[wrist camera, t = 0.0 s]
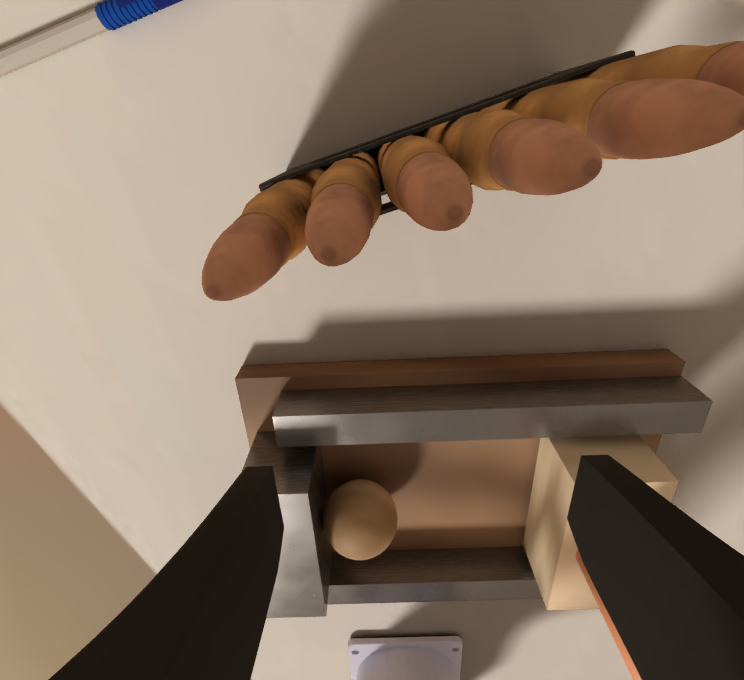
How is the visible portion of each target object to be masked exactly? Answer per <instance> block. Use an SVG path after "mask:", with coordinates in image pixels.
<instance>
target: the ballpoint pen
mask: <svg viewBox="0 0 744 680" xmlns="http://www.w3.org/2000/svg"><path fill="white" fill-rule="evenodd" d="M180 1H182V0H105V1H103V2H102V3H98V4H97V6H96V7H95V8H93V9H90V10H88V11H86V12H83V13H81V14H79V15H77V16H74V17H72V18H70V19H68V20H65V21H63V22H61V23H59V24H56V25H54V26H52V27H50V28H47V29H45V30H43V31H41V32H38V33H36V34H34V35H31V36H29V37H27V38H25V39H22V40H20V41H18V42H16V43H13V44H11V45H9V46H7V47H4V48H2V49H0V77H1V76H4V75H6V74H8V73H11V72H13V71H15V70H18V69H20V68H22V67H25V66H27V65H29V64H31V63H34V62H36V61H38V60H41V59H43V58H45V57H48V56H50V55H52V54H55V53H57V52H59V51H62V50H64V49H66V48H69V47H71V46H73V45H75V44H78V43H80V42H82V41H85V40H87V39H89V38H92V37H94V36H96V35H99V34H101V33H103V32H106V31H108V30H116V27H117V28H120V27H122V26H125V25H127V24H126V23H128V24H130V23H132V21H137V19H141V18H142V16H143V17H146V16H147V14H149V15H150V14H152V12H157V11H158V9H159V10H161V9H164V8H166V7H168V6H171V5H173V4H175V3H177V2H180ZM121 25H122V26H121Z"/></svg>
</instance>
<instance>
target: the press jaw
mask: <svg viewBox="0 0 744 680" xmlns="http://www.w3.org/2000/svg"><path fill="white" fill-rule="evenodd" d="M581 455H609V456H611V457H612V458H613V459H615V460H616V461H617V462H619V463H620V464H621V465H623V466H624V467H625V468H627V469H628V470H629V471H631V472H632V473H633V474H634V475H636V476H637V477H638V478H640V479H641V480H642V481H644V482H645V483H646V484H647V485H649V486H650V487H651V488H653V489H654V490H655V491H656V492H658V493H659V494H660V495H662V496H663V497H664V498H666V499H667V500H668V501H669V502H672V500H673V497H674V494H675V492H676V489H677V486H678V483H679V481H678V480H677V478H676V477H675V476H674V475H673V474H672V473H671V472H670V470H669V469H668V468H667V467H666V466H665V465H664V464H663V462H662V461H661V460H660V459H659V458H658V457H657V456H656V454H655V453H654V452H653V451H652V450H651V449H650V448H649V446H648V445H647V444H646V443H645V442H644V441H643V440H642V438H641V437H640V436H639V435H614V436H585V437H556V438H540V444H539V450H538V456H537V462H536V468H535V474H534V480H533V486H532V492H531V498H530V504H529V510H528V516H527V522H526V528H525V534H524V540H523V546H524V549H525V551H526V554H527V557H528V560H529V562H530V565H531V568H532V571H533V573H534V576H535V579H536V582H537V584H538V587H539V590H540V593H541V595H542V598H543V601H544V603H545V606H546V609H547V610H578V609H600V611H601V613H602V615H603V617H604V620H605V622H606V624H607V626H608V628H609V630H610V632H611V634H612V636H613V638H614V641H615V643H616V645H617V647H618V649H619V651H620V653H621V655H622V657H623V659H624V662H625V664H626V666H627V668H628V670H629V672H630V674H631V676H632V678H633V680H642V679H641V677H640V675H639V673H638V671H637V669H636V667H635V665H634V663H633V661H632V659H631V657H630V655H629V653H628V651H627V649H626V647H625V645H624V643H623V641H622V639H621V637H620V635H619V633H618V631H617V629H616V628H615V626H614V624H613V622H612V620H611V618H610V616H609V614H608V612H607V610H606V608H605V606H604V604H603V602H602V600H601V598H600V596H599V594H598V592H597V590H596V588H595V586H594V584H593V582H592V580H591V578H590V576H589V574H588V572H587V570H586V568H585V566H584V564H583V561H582V558H581V556H580V553H579V551H578V548H577V545H576V543H575V540H574V537H573V534H572V531H571V529H570V526H569V523H568V520H567V516H568V511H569V507H570V502H571V498H572V494H573V489H574V485H575V480H576V476H577V472H578V467H579V463H580V458H581Z"/></svg>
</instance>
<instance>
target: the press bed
mask: <svg viewBox="0 0 744 680" xmlns="http://www.w3.org/2000/svg"><path fill="white" fill-rule="evenodd" d="M684 364H685V361H683V360H682V359H680V358H679V357H678V356H676V355H675V354H674V353H672V352H671V351H670V350H668V349H663V350H637V351H610V352H584V353H558V354H532V355H506V356H480V357H454V358H428V359H402V360H376V361H350V362H324V363H297V364H271V365H245V366H242V367H241V369H240V371H239V373H238V374H237V376H236V378H235V381H236V386H237V390H238V395H239V399H240V404H241V408H242V413H243V418H244V422H245V427H246V431H247V436H248V440H249V445H250V451H249V454H248V457H247V459H246V462H245V465H244V467H243V470H244V469H245V468H246V467H253V466H273V472H274V477H275V482H276V487H277V492H278V497H279V503H280V508H281V513H282V518H283V523H284V532H283V540H282V547H281V554H280V561H279V567H278V573H277V577H276V581H275V585H274V589H273V593H272V597H271V601H270V605H269V609H268V613H267V616H266V618H283V617H320V616H326V614H327V604H359V603H396V602H432V601H468V600H504V599H541V598H542V595H541V593H540V590H539V587H538V584H537V582H536V579H535V576H534V573H533V571H532V568H531V565H530V562H529V560H528V557H527V554H526V551H525V549H524V546H523V540H524V534H525V528H526V522H527V516H528V510H529V504H530V498H531V492H532V486H533V480H534V474H535V468H536V462H537V456H538V450H539V444H540V438H556V437H585V436H614V435H639V436H640V437H641V438H642V440H643V441H644V442H645V443H646V444H647V445H648V446H649V448H650V449H651V450H652V451H653V452H654V453H656V450H657V447H658V444H659V440H660V437H661V434H671V433H700V432H701V431H702V428H703V426H704V423H705V420H706V418H707V415H708V412H709V410H710V407H711V404H712V402H713V401H712V400H711V399H710V398H708V397H707V396H706V395H705V394H703V393H702V392H701V391H700V390H698V389H697V388H696V387H694V386H693V385H692V384H691V383H689V382H688V381H687V380H686V379H684V378H683V377H682V376H681V373H682V370H683V367H684ZM243 470H242V471H243Z"/></svg>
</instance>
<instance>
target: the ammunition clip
mask: <svg viewBox="0 0 744 680" xmlns="http://www.w3.org/2000/svg"><path fill="white" fill-rule="evenodd" d="M742 130H744V42H742V41H735V42H729V43H723V44H718V45H712V46H694V45H677V46H672V47H668V48H664V49H661V50H657V51H653V52H650V53H646V54H642V55H638V56H635V51H628V52H624V53H621V54H618V55H615V56H611V57H608V58H605V59H601V60H598V61H595V62H591V63H588V64H585V65H582V66H578V67H575V68H572V69H568V70H565V71H562V72H559V73H556V74H553V75H550V76H548V77H545V78H542V79H539V80H537V81H534V82H531V83H528V84H526V85H523V86H520V87H517V88H514V89H512V90H509V91H506V92H503V93H501V94H498V95H495V96H492V97H490V98H487V99H484V100H481V101H478V102H476V103H473V104H470V105H467V106H465V107H462V108H459V109H456V110H454V111H451V112H448V113H445V114H442V115H440V116H437V117H434V118H431V119H429V120H426V121H423V122H420V123H418V124H415V125H412V126H409V127H407V128H404V129H401V130H398V131H395V132H393V133H390V134H387V135H384V136H382V137H379V138H376V139H373V140H371V141H368V142H365V143H362V144H359V145H357V146H354V147H351V148H348V149H346V150H343V151H340V152H337V153H335V154H332V155H329V156H326V157H323V158H321V159H318V160H315V161H312V162H310V163H307V164H304V165H301V166H299V167H296V168H293V169H290V170H288V171H286V172H284V173H282V174H280V175H278V176H276V177H274V178H272V179H269V180H267V181H265V182H263V183H261V184H260V185H259V189H260V191H261V193H259V194H257V195H256V196H255V197H254V198H253V199H252V200H251V201H249V202H248V203H247V204H246V206H245V208H244V211H243V213H242V215H241V216H240V217H239V218H238V219H237V220H236V221H234V223H233V224H232V225H231V226H229V227H228V228H227V229H226V230H225V231H224V232H223V233H222V234H221V235H220V236H219V238H218V239H217V240H216V242H215V243H214V244H213V246H212V248H211V250H210V252H209V254H208V257H207V259H206V261H205V264H204V267H203V271H202V287H203V290H204V293H205V294H206V296H207V297H209V298H210V299H213V300H218V301H228V300H233V299H236V298H239V297H242V296H245V295H248V294H250V293H252V292H254V291H256V290H257V289H259V288H260V287H261V286H262V285H263V284H265V283H266V282H267V281H268V280H270V279H271V278H272V277H273V276H274V275H275V274H276V273H277V272H278V271H279V269H280V268H281V267H282V266H283V265H285V264H286V263H287V261H288V260H291V259H293V258H295V257H296V256H297V255H298V254H300V253H301V252H302V251H303V250H304V249H305V247H306V245H308V248H309V250H310V252H311V253H312V255H313V256H314V258H315V259H316V260H317V261H319V262H320V263H321V264H324V265H327V266H339V265H342V264H344V263H347V262H349V261H350V260H351V259H353V258H354V257H355V256H357V255H358V254H359V253H360V252H361V250H362V248H363V247H364V245H365V243H366V242H367V240H368V238H369V236H370V231H371V229H372V228H373V226H374V224H375V223H376V221H377V219H378V218H379V215H382V214H385V213H388V212H391V211H394V210H397V209H400V210H401V211H403V212H406V213H407V214H408V215H409V216H410V217H411V218H412V219H413V220H414V221H415V222H416V223H418V224H419V225H421V226H423V227H426V228H428V229H431V230H436V231H447V230H450V229H453V228H456V227H458V226H460V225H461V224H462V223H464V222H465V220H466V219H467V218H468V216H469V215H470V211H471V208H472V204H473V195H472V187H471V185H472V184H473V185H476V186H478V187H480V188H482V189H485V190H503V189H505V190H509V191H516V192H519V193H522V194H532V195H556V194H561V193H565V192H568V191H571V190H575V189H577V188H580V187H583V186H584V185H586V184H588V183H589V182H590V181H592V180H593V179H594V178H595V177H596V176H597V175H598V174H599V172H600V170H601V168H602V159H619V158H624V159H652V158H663V157H670V156H676V155H680V154H685V153H689V152H692V151H695V150H698V149H702V148H705V147H708V146H711V145H714V144H717V143H720V142H722V141H724V140H726V139H729V138H731V137H732V136H734V135H736V134H737V133H739V132H741V131H742ZM385 194H388V196H389V199H390V201H391V202H388V203H385V204H382V202H381V196H382V195H385Z"/></svg>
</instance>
